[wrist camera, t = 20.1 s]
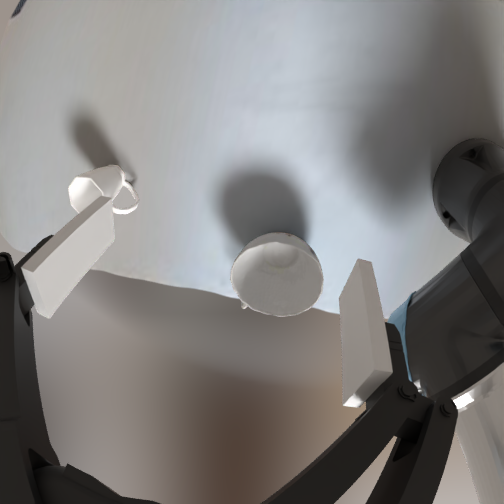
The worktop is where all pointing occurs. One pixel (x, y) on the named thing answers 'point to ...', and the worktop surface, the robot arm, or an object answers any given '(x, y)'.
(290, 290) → the teacup
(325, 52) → the worktop surface
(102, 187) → the cup
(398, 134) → the worktop surface
